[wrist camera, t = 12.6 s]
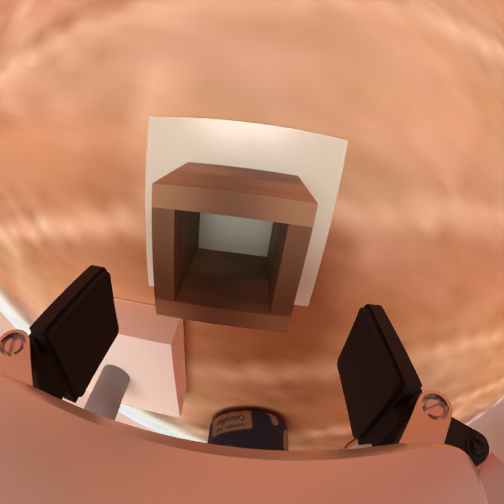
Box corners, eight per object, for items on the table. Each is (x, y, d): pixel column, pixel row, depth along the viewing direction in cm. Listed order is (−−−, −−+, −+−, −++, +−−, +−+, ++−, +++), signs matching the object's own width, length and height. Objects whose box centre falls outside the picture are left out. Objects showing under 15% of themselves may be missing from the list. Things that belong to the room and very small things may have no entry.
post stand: (183, 310, 22) (143, 429, 12) (186, 387, 26) (167, 477, 17) (72, 288, 21) (6, 372, 11) (96, 365, 26) (60, 441, 16)
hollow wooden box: (297, 175, 16) (318, 203, 10) (279, 271, 19) (286, 331, 13) (187, 162, 16) (151, 183, 10) (183, 259, 19) (156, 314, 13)
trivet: (344, 139, 15) (348, 140, 15) (306, 300, 21) (308, 306, 20) (153, 116, 15) (149, 116, 14) (152, 280, 20) (148, 285, 20)
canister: (195, 415, 29) (174, 544, 13) (256, 395, 27) (252, 554, 10) (243, 441, 33) (237, 551, 16) (301, 424, 30) (310, 549, 14)
